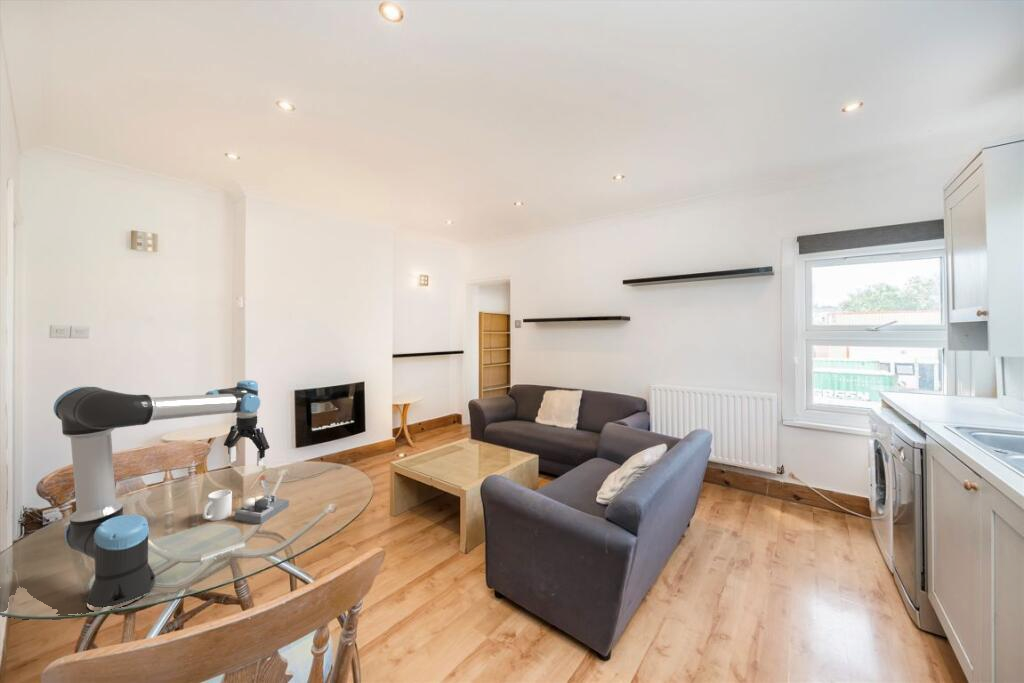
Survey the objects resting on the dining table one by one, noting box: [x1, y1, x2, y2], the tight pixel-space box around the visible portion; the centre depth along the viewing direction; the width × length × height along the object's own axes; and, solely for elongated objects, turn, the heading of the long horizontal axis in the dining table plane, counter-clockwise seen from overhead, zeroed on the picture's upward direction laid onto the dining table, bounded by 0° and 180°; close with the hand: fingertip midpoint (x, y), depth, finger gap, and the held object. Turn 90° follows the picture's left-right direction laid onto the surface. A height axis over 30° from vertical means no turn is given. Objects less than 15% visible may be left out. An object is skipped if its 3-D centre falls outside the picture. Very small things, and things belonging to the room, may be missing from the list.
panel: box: [234, 494, 290, 525], centre depth 170 cm, size 16×13×6 cm
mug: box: [201, 489, 233, 522], centre depth 163 cm, size 12×8×10 cm
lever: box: [258, 475, 273, 502], centre depth 174 cm, size 2×1×13 cm
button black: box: [255, 498, 267, 511], centre depth 165 cm, size 4×4×3 cm
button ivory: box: [242, 497, 256, 509], centre depth 166 cm, size 4×4×3 cm
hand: (246, 463), depth 166 cm, fingers open, 13 cm apart
